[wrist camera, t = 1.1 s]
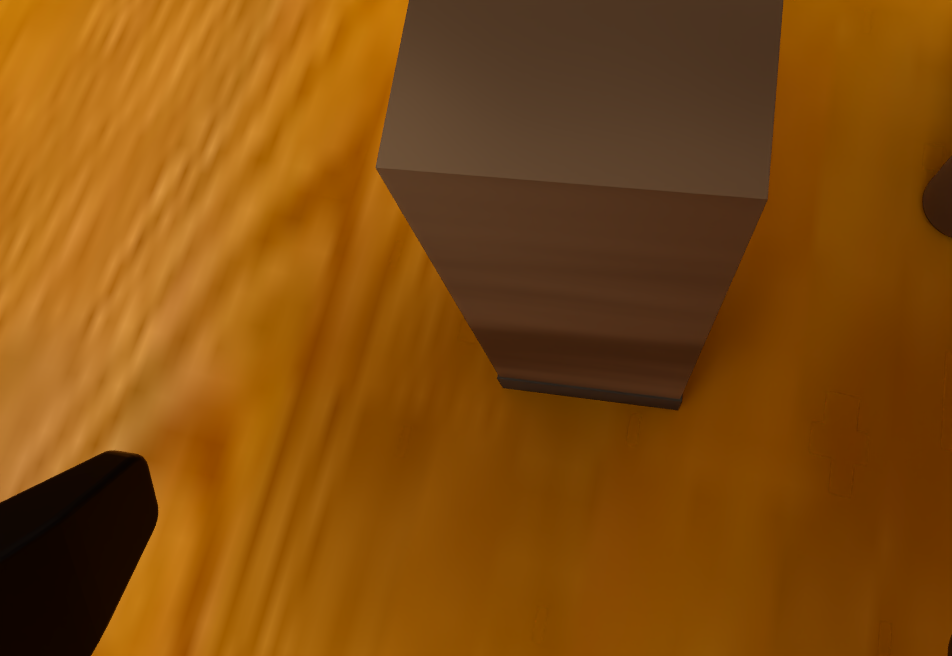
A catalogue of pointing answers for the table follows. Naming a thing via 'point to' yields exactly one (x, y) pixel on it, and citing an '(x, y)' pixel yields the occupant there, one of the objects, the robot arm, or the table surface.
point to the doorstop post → (585, 177)
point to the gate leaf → (940, 199)
